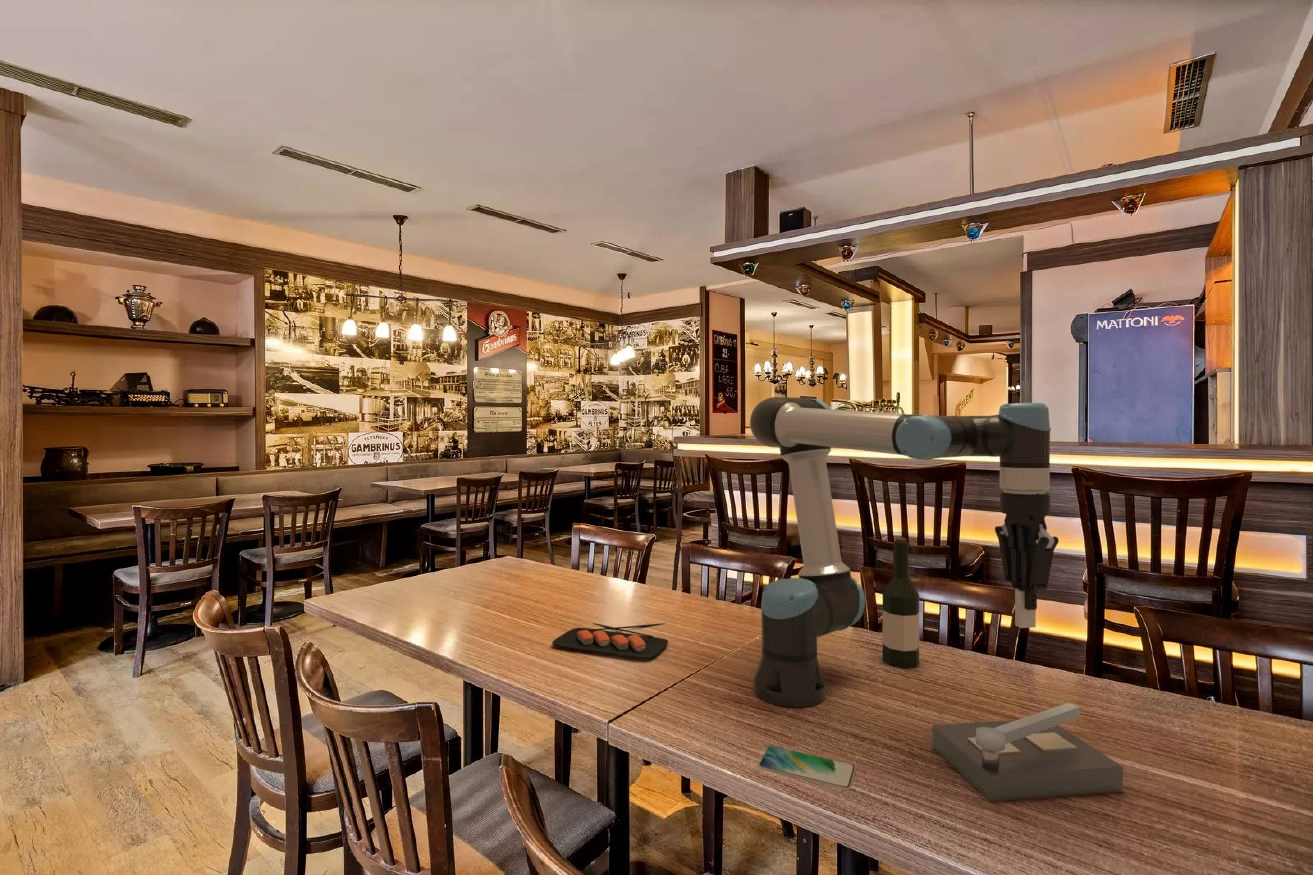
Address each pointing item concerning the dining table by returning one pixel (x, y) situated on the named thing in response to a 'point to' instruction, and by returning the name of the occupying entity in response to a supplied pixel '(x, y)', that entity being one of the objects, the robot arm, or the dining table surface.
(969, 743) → the grey base block
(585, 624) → the dining table surface
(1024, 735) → the lever
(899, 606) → the wine bottle
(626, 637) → the sushi plate
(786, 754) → the smartphone
